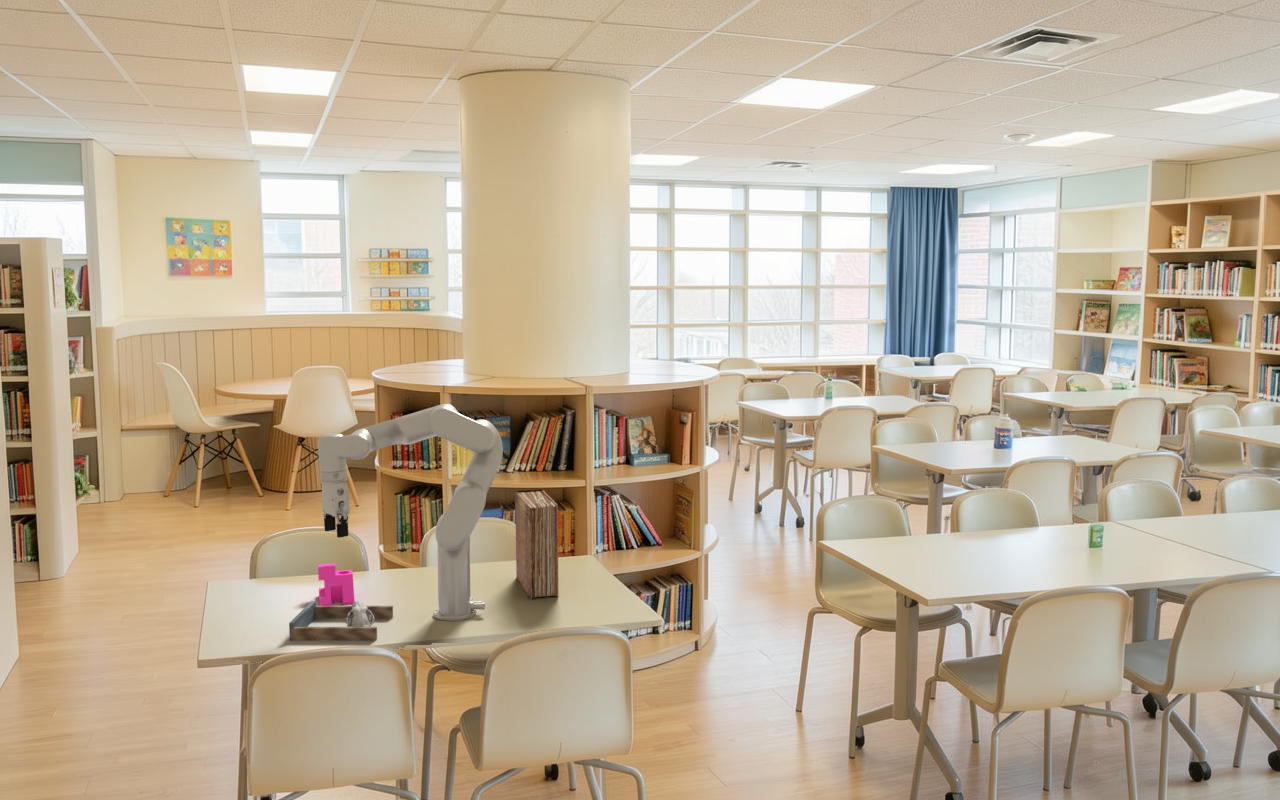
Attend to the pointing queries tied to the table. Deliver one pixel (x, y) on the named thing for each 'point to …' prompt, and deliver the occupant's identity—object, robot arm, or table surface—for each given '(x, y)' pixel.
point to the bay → (311, 611)
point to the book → (536, 543)
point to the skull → (359, 616)
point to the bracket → (335, 585)
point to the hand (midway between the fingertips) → (336, 533)
